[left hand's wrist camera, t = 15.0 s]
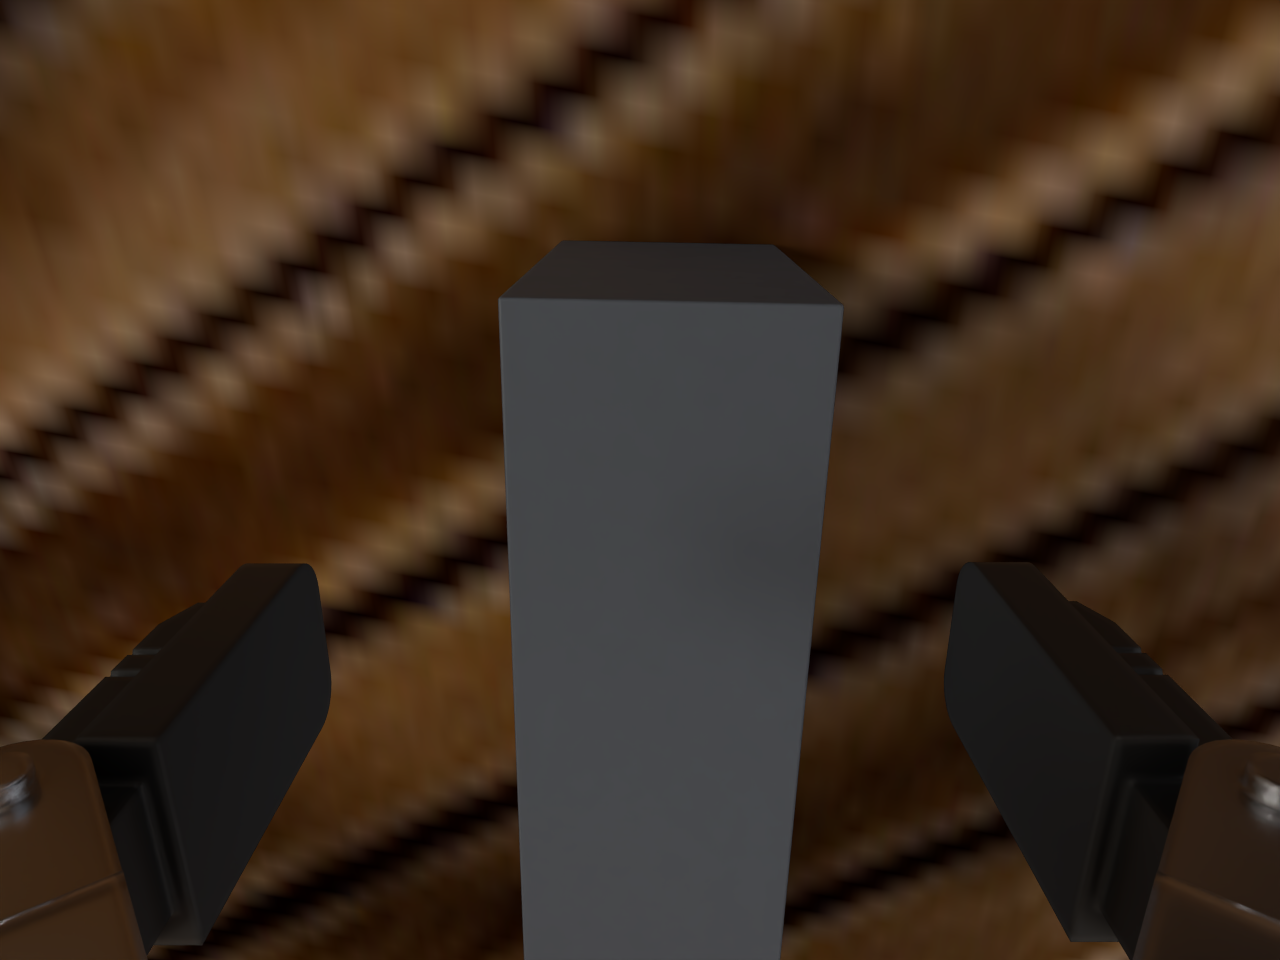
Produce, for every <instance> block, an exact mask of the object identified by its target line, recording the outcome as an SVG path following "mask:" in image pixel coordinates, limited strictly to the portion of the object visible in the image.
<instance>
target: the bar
mask: <svg viewBox="0 0 1280 960" xmlns="http://www.w3.org/2000/svg"><path fill="white" fill-rule="evenodd" d="M498 307H499V332H500V358H501V383H502V409H503V434H504V460H505V485H506V510H507V536H508V561H509V587H510V612H511V638H512V663H513V688H514V714H515V739H516V765H517V790H518V816H519V841H520V866H521V892H522V917H523V943H524V960H780V955H781V944H782V934H783V924H784V914H785V903H786V893H787V883H788V873H789V863H790V852H791V842H792V832H793V822H794V811H795V801H796V791H797V781H798V771H799V760H800V750H801V740H802V730H803V719H804V709H805V699H806V689H807V679H808V668H809V658H810V648H811V638H812V628H813V617H814V607H815V597H816V587H817V576H818V566H819V556H820V546H821V536H822V525H823V515H824V505H825V495H826V484H827V474H828V464H829V454H830V444H831V433H832V423H833V413H834V403H835V392H836V382H837V372H838V362H839V352H840V341H841V331H842V321H843V311H844V307H843V305H842V304H841V303H840V302H839V301H838V300H837V299H836V298H834V297H833V296H832V295H831V294H830V293H829V292H827V291H826V290H825V289H824V288H823V287H822V286H821V285H819V284H818V283H817V282H816V281H815V280H814V279H813V278H811V277H810V276H809V275H808V274H807V273H806V272H804V271H803V270H802V269H801V268H800V267H799V266H798V265H796V264H795V263H794V262H793V261H792V260H791V259H789V258H788V257H787V256H786V255H785V254H784V253H783V252H781V251H780V250H779V249H778V248H777V247H776V246H775V245H758V244H708V243H658V242H608V241H561V242H560V243H559V244H558V245H557V246H556V247H555V248H554V249H553V250H551V251H550V252H549V253H548V254H547V255H546V256H545V257H544V258H543V259H541V260H540V261H539V262H538V263H537V264H536V265H535V266H534V267H533V268H531V269H530V270H529V271H528V272H527V273H526V274H525V275H524V276H523V277H522V278H520V279H519V280H518V281H517V282H516V283H515V284H514V285H513V286H512V287H510V288H509V289H508V290H507V291H506V292H505V293H504V294H503V295H502V296H501V297H499V300H498Z"/></svg>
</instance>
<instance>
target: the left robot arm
mask: <svg viewBox="0 0 1280 960" xmlns="http://www.w3.org/2000/svg"><path fill="white" fill-rule="evenodd" d="M944 692H945V701H946V706H947V711H948V714H949V717H950V720H951V723H952V725H953V727H954V729H955V730H956V732H957V734H958V736H959V738H960V740H961V741H962V743H963V745H964V747H965V749H966V751H967V752H968V754H969V756H970V758H971V760H972V762H973V763H974V765H975V767H976V769H977V771H978V773H979V774H980V776H981V778H982V780H983V782H984V784H985V785H986V787H987V789H988V791H989V793H990V795H991V796H992V798H993V800H994V802H995V804H996V806H997V807H998V809H999V811H1000V813H1001V815H1002V817H1003V819H1004V820H1005V822H1006V824H1007V826H1008V828H1009V830H1010V831H1011V833H1012V835H1013V837H1014V839H1015V841H1016V842H1017V844H1018V846H1019V848H1020V850H1021V852H1022V853H1023V855H1024V857H1025V859H1026V861H1027V863H1028V864H1029V866H1030V868H1031V870H1032V872H1033V874H1034V875H1035V877H1036V879H1037V881H1038V883H1039V885H1040V886H1041V888H1042V890H1043V892H1044V894H1045V896H1046V897H1047V899H1048V901H1049V903H1050V905H1051V907H1052V908H1053V910H1054V912H1055V914H1056V916H1057V918H1058V919H1059V921H1060V923H1061V925H1062V927H1063V929H1064V931H1065V932H1066V934H1067V936H1068V938H1069V940H1070V942H1120V944H1121V946H1122V947H1123V949H1124V951H1125V952H1126V954H1127V956H1128V957H1129V959H1130V960H1280V747H1278V746H1274V745H1270V744H1265V743H1260V742H1255V741H1247V740H1233V739H1232V738H1231V737H1230V736H1229V735H1228V734H1227V733H1226V732H1225V731H1224V730H1223V729H1222V728H1221V727H1220V726H1219V725H1218V724H1217V723H1216V722H1215V721H1214V720H1213V719H1212V718H1211V717H1210V716H1209V715H1208V714H1207V713H1206V712H1205V711H1204V710H1203V709H1202V708H1201V707H1200V706H1199V705H1198V704H1197V703H1196V702H1195V701H1194V700H1193V699H1192V698H1191V697H1190V696H1189V695H1188V694H1187V693H1186V692H1185V691H1184V690H1183V689H1182V688H1181V687H1180V686H1179V685H1177V684H1176V683H1175V682H1174V681H1173V680H1172V679H1171V678H1170V677H1169V676H1168V675H1163V674H1162V669H1161V668H1160V667H1159V666H1158V665H1157V664H1156V663H1155V662H1154V661H1153V660H1152V659H1151V658H1150V657H1149V656H1148V655H1147V654H1146V653H1141V648H1140V647H1139V646H1138V645H1137V644H1136V643H1135V642H1134V641H1133V640H1132V639H1131V638H1130V637H1129V636H1128V635H1127V634H1126V633H1125V632H1124V631H1123V630H1122V629H1121V628H1120V627H1119V626H1118V625H1117V624H1116V623H1115V622H1113V621H1111V620H1109V619H1108V618H1106V617H1104V616H1102V615H1100V614H1098V613H1097V612H1095V611H1093V610H1091V609H1089V608H1088V607H1086V606H1084V605H1082V604H1080V603H1079V602H1077V601H1068V600H1067V599H1066V598H1065V597H1064V596H1063V595H1062V594H1061V593H1060V592H1059V591H1058V590H1057V589H1056V588H1055V587H1054V586H1053V585H1052V584H1051V582H1050V581H1049V580H1048V579H1047V578H1046V577H1045V576H1044V575H1043V574H1042V573H1041V572H1040V571H1039V570H1038V569H1037V568H1036V567H1035V566H1034V565H1033V564H1031V563H1029V562H968V563H966V564H965V565H964V566H963V567H962V569H961V571H960V573H959V577H958V581H957V587H956V594H955V601H954V608H953V615H952V622H951V629H950V636H949V644H948V651H947V658H946V665H945V673H944ZM330 698H331V671H330V664H329V657H328V650H327V643H326V636H325V629H324V622H323V615H322V608H321V601H320V594H319V587H318V582H317V578H316V574H315V572H314V570H313V568H312V567H311V566H310V565H309V564H244V565H242V566H241V567H240V568H239V569H238V570H237V571H236V572H235V573H234V574H233V575H232V576H231V577H230V578H229V579H228V580H227V581H226V582H225V583H224V584H223V585H222V586H221V587H220V588H219V589H218V590H217V592H216V593H215V594H214V595H213V596H212V597H211V598H210V599H209V600H208V601H207V602H206V603H197V604H195V605H193V606H191V607H189V608H188V609H186V610H184V611H182V612H180V613H179V614H177V615H175V616H173V617H171V618H170V619H168V620H166V621H164V622H162V623H160V624H159V625H158V626H157V627H156V628H155V629H154V630H153V631H152V632H150V633H149V634H148V635H147V636H146V637H145V638H144V639H143V640H142V641H141V642H140V643H139V644H138V645H137V646H136V647H135V648H134V649H133V654H132V655H127V656H126V657H125V658H124V659H123V660H122V661H121V662H120V663H119V664H118V665H117V666H116V667H115V668H114V669H113V670H112V671H111V676H110V677H105V678H104V679H103V680H102V681H101V682H100V683H99V684H98V685H97V686H96V687H95V688H94V689H93V690H92V691H91V692H89V693H88V694H87V695H86V696H85V697H84V698H83V699H82V700H81V701H80V702H79V703H78V704H77V705H76V706H75V707H74V708H73V709H72V710H71V711H70V712H69V713H68V714H67V715H66V716H65V717H64V718H63V719H62V720H61V721H60V722H59V723H58V724H57V725H56V726H55V727H54V728H53V729H52V730H51V731H50V732H49V733H48V734H47V735H46V736H45V737H44V738H43V739H42V740H33V741H25V742H20V743H15V744H10V745H6V746H2V747H0V960H147V955H148V953H149V951H150V950H151V948H152V946H153V945H203V943H204V941H205V939H206V937H207V936H208V934H209V932H210V930H211V928H212V926H213V925H214V923H215V921H216V919H217V917H218V916H219V914H220V912H221V910H222V908H223V907H224V905H225V903H226V901H227V899H228V897H229V896H230V894H231V892H232V890H233V888H234V887H235V885H236V883H237V881H238V879H239V878H240V876H241V874H242V872H243V870H244V868H245V867H246V865H247V863H248V861H249V859H250V858H251V856H252V854H253V852H254V850H255V848H256V847H257V845H258V843H259V841H260V839H261V838H262V836H263V834H264V832H265V830H266V829H267V827H268V825H269V823H270V821H271V819H272V818H273V816H274V814H275V812H276V810H277V809H278V807H279V805H280V803H281V801H282V800H283V798H284V796H285V794H286V792H287V790H288V789H289V787H290V785H291V783H292V781H293V780H294V778H295V776H296V774H297V772H298V771H299V769H300V767H301V765H302V763H303V761H304V760H305V758H306V756H307V754H308V752H309V751H310V749H311V747H312V745H313V743H314V741H315V740H316V738H317V736H318V734H319V732H320V731H321V729H322V727H323V725H324V723H325V720H326V717H327V713H328V709H329V704H330Z"/></svg>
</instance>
